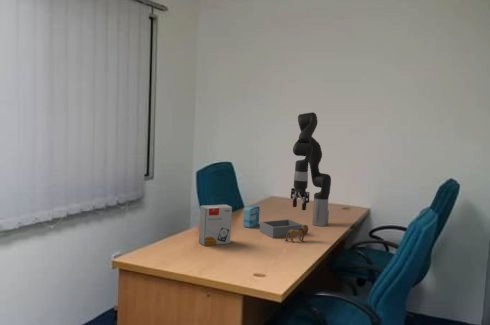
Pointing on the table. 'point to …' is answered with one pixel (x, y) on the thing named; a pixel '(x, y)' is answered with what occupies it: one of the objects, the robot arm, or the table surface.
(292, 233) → the lion figurine
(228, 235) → the hard drive box
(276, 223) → the bin
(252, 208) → the data package
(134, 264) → the table surface
